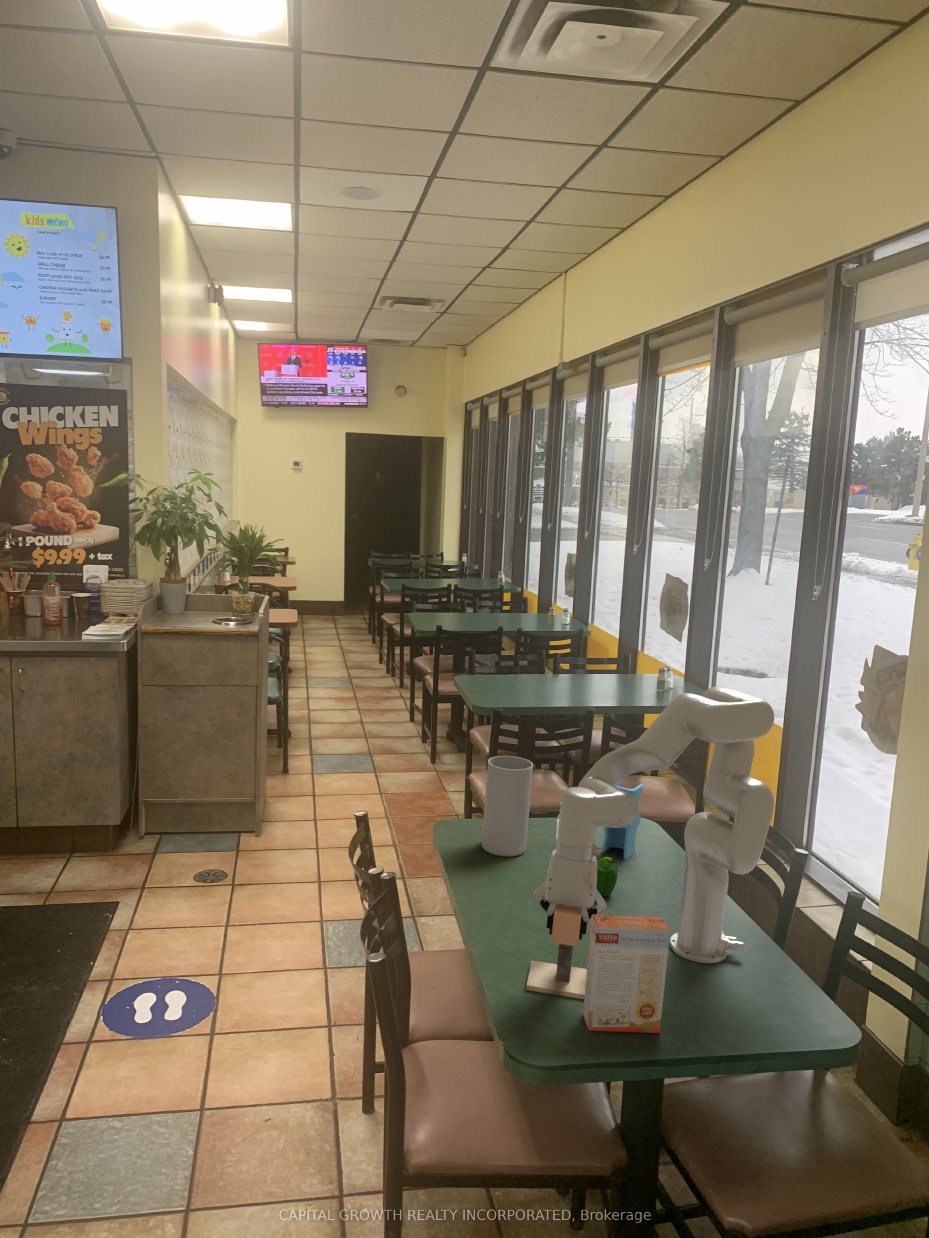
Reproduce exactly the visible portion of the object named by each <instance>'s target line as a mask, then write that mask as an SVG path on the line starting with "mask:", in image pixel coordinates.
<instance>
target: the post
mask: <svg viewBox="0 0 929 1238" xmlns="http://www.w3.org/2000/svg"><path fill="white" fill-rule="evenodd" d="M573 949H574V946H572V945H566V944H560V943H558V952H557V953H558V954H557V963H551V962H544V961H538V960H531V961H530V962H531V963H530V967H529V972H528V976H527V982H526V987H525V988H526V989H525V990H527V991H530V992H531V991H532V992H538V993H544V994H549V995H554V996H555V995H556V996H560V997H561V996H562V997H568V998H574V999H580V1000H584V997H585V986H586V974H587V968H583V967H576V966H572V961H573V951H574V950H573Z"/></svg>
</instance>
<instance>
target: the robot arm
mask: <svg viewBox="0 0 929 1238" xmlns="http://www.w3.org/2000/svg"><path fill="white" fill-rule="evenodd" d="M774 723H775V712H774V709H773V707H772V705H771V704H770V703H768V701H766V700H765V699H762V698H759V697H757V696H753V695H750V694H747V693H744V692H741V691H738V690H735V689H733V688H727V687H723V686H712V687H709V688H708V689H707V690H705V692H704V694H703V695H699V694H695V693H691V692H684V693H683V692H682V693H680V694H677V695H676V696H675V697H674V698H672V700H671V701H670V702H669V703H668V704H667V706H666V707H665V708H664V709H663V710H662V711H661V712H660V714H659V715H657V718H655V720H653V721H652V723H651V724H650V725H649V726H648V727H647V728H646V729H645V731H644V732H643V733H642V734H641V735H640V737H639V738H638V739H636V740H634V741H631V742H629V743H626V744H625V745H622V746H620V747H619V748H616V749H614V750H613V751H610V752H608V753H606V754H605V755H603V756H602V757H601V758H600V759H598V760H597V761H596V762H595V763H594V765H592V767H591V768H590V769H589V770H588V771H587V772H586V774H585V775H584V776H583V777H582V779H581V780H580V782H579V783H578V785H577V786H573V787H568V788H565V790H564V791H563V792H562V794H561V799H560V808H559V817H558V818H559V820H558V826H557V827H558V829H557V837H556V838H557V839H556V845H555V847H556V848H555V849H553V850H552V852H551V855H550V859H549V862H548V867H547V873H546V880H545V882H543V883H542V884H541V885H540V886H539V887H537V888H536V889H535V890H534V891H533V892H532V893H533V894H532V897H533V899H535V900H536V902H538V903H539V905H540V907H541V908H542V909H543V910H544V911H545V912H546V915H547V918H546V927H545V928H546V929H549V930H548V931H549V932H548V935H551V936H552V929H553V920H554V911H555V907H556V905H557V904H563V905H569V906H575V907H580V908H581V912H582V914H581V923H580V932H579V940H580V941H582V940H583V935H587V930H588V928H587V927H588V922H589V921H590V920H591V917H592V915H593V914H595V915H598V913H600V912H602V911H604V910H605V909H607V902H606V901H605V899H604V898H603V896H601V895H600V893H599V892H598V890H597V889H596V886H597V860H598V859H597V856H596V855H602V853H601V850H602V847H599V846H597V845H596V844H595V843H596V842H595V841H596V833H597V828H598V827H600V828H604V827H611V828H620V827H625V826H627V825H629V824H631V823H632V822H633V821H634V820H635V818H636V816H637V814H638V810H639V804H638V805H637V803H636V801H635V799H634V798H633V797H632V796H631V795H630V794H628V793H627V792H625V791H623V790H621V789H619V788H618V787H616V786H614V785H615V784H616V783H617V782H618V781H619V780H620V781H621V780H622V779H624V778H625V777H627V776H629V775H631V774H636V773H640V772H650V771H659V770H666V769H668V768H670V767H671V766H672V765H673V764H674V762H676V761H677V759H678V758H679V757H680V755H682V753H683V752H684V751H685V749H687V747H688V746H689V745H690V744H691V742H692V741H693V740H694V739H695V738H698V739H699V740H702V741H704V742H705V741H706V742H707V743H711V744H714V748H713V751H712V752H713V753H712V756H711V760H710V764H709V766H708V770H707V774H706V778H705V782H704V786H703V798H704V799H703V800H704V801H705V802H706V803H707V804H708V805H709V806H710V807H712V808H714V809H716V810H718V811H720V812H722V813H724V814H726V815H727V816H730V817H732V818H733V822H732V821H731V820H729V819H727V818H724V817H722V816H720V815H718V814H716V813H713V812H709V811H702V812H701V811H700V812H698V813H695V814H693V815H692V816H691V817H690V818H689V820H687V822H686V824H685V828H684V832H683V833H684V836H683V837H684V838H683V839H684V850H685V851H684V852H685V866H684V877H683V884H682V885H683V886H682V895H681V902H680V903H681V904H680V913H679V921H678V931H677V932H676V933H675V932H674V934H672V935H671V936H670V937H669V947H670V949H671V950H672V951H673V952H674V953H675V954H676V955H678V956H679V957H681V958H682V959H686V960H689V961H691V962H694V963H701V964H717V963H720V962H722V961H724V960H725V959H726V958H727V956H728V950H734V951H738V952H743V950H744V942H743V941H738V940H737V937H736V936H728V935H726V934H724V931H723V930H724V921H725V913H726V906H727V905H726V904H727V903H726V902H727V895H728V889H729V882H730V881H729V872H731V873H734V874H737V875H745V874H748V873H749V874H750V872H751V871H753V870H754V869H755V867H756V866H757V865H758V863H759V861H760V859H761V857H762V853H763V850H764V846H765V843H766V840H767V836H768V832H769V828H770V825H771V822H772V818H773V814H774V810H775V797H774V793H773V791H772V790H771V788H770V787H769V785H767V784H766V783H765V782H764V781H761V780H759V779H757V778H754V777H752V776H751V770H752V765H753V761H754V756H755V741H754V740H757V739H760V738H762V737H764V736H766V735H767V734H768V733H769V732H770V731H771V729H772V727H773V725H774ZM543 894H544V895H543ZM595 902H596V904H595Z"/></svg>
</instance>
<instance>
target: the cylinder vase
mask: <svg viewBox="0 0 929 1238" xmlns="http://www.w3.org/2000/svg"><path fill="white" fill-rule="evenodd" d="M533 771H534V763H533V762H532V761H530V760H529V759H526V758H522V757H519V756H512V755H498V756H493V757H489V759H488V760H487V769H486V783H485V793H484V794H485V795H484V805H483V806H484V808H483V820H482V831H481V832H482V834H481V836H482V837H481V847H482V849H483V850H484V851H485V852H487V853H488V854H491V855H494V856H497V857H517V856H520V855H522V854H523V853H525V852H526V849H527V839H528V829H529V827H528V826H529V818H530V817H529V816H530V805H531V793H532V780H533Z"/></svg>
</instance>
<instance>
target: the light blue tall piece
mask: <svg viewBox="0 0 929 1238" xmlns="http://www.w3.org/2000/svg"><path fill="white" fill-rule="evenodd" d="M614 786H616V787H618V788H619V789H621V790H623V791H625V792H627V793H628V794H630V795H631V796H632V797H633V798H634V799H635V801H636V803H637V805H638V806H639V801H640V795H641V793H642V790H643V788H644V784H642V783H641V784H639V785H637V786H636V787H634V788H627V787H623V786H621V780H619V781H618V782H617V783H616V784H615V785H614ZM640 823H641V816H640V812H639V809H638V814H637V816H636V818H635V820H634V821H633V822H632V823H631V824H629V825H627V826H625V827H620V828H611V827H603V830H604V838H603V839H604V840H603V844H602V847H601V854H605V853H606V852H607V851H608V850H609V849H610V848H619V849H621V850H623V860H625V861H627V860H629V859H630V858H631V857H633V856H634V854H636V848H635V847H636V845H635V843H636V842H635V841H636V835H637V831H638V828H639V825H640Z"/></svg>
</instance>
